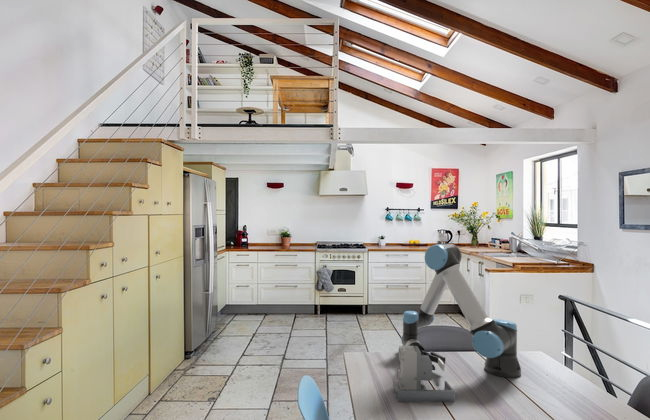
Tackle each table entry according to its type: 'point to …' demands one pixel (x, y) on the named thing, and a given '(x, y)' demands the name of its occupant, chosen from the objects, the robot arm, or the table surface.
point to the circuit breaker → (413, 367)
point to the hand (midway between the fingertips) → (427, 367)
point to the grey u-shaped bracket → (424, 394)
